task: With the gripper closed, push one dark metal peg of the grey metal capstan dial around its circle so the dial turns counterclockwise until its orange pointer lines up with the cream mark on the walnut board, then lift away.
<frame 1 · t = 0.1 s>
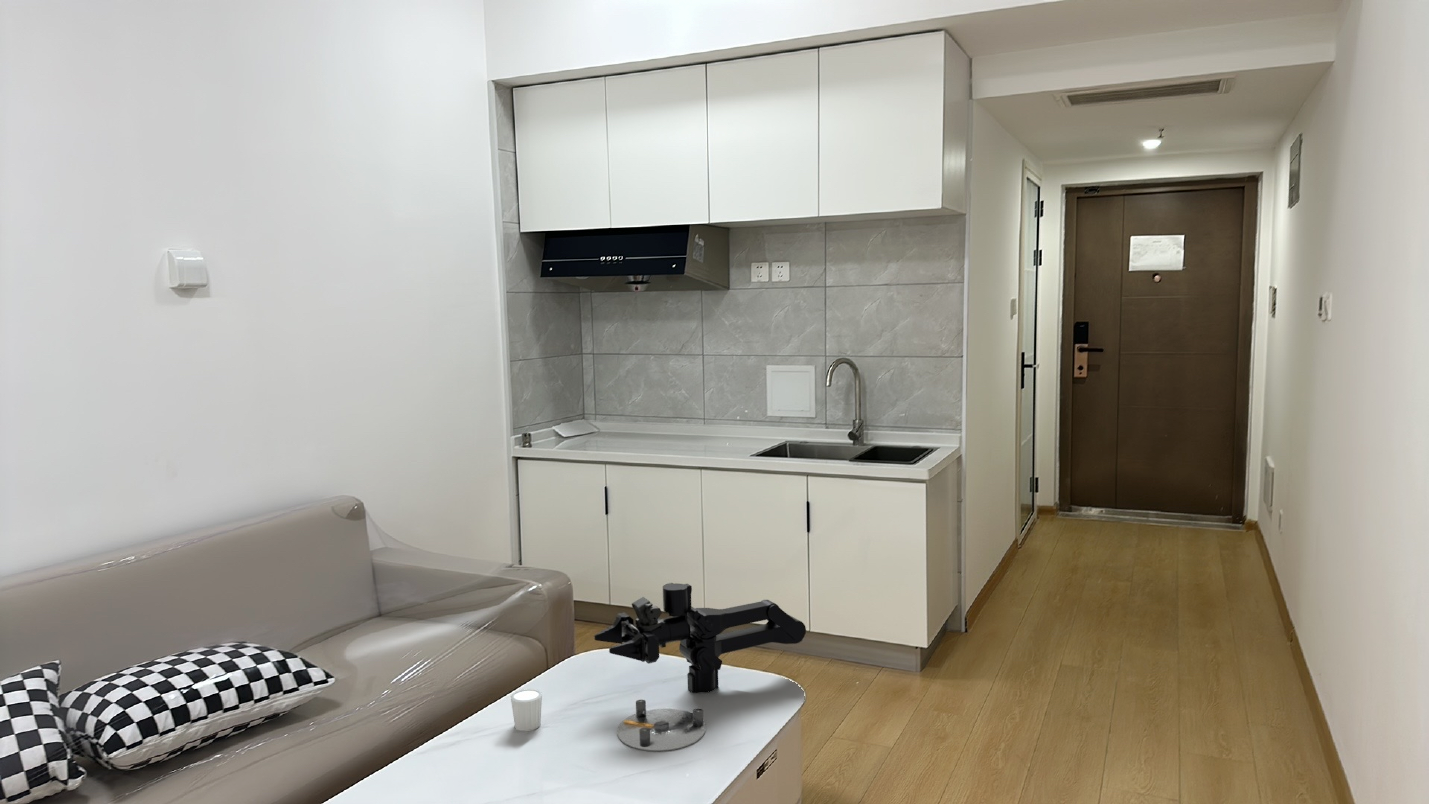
hand: (601, 644, 211), 17 cm above the table, tool horizontal, fingers open, 9 cm apart
stand board: (659, 734, 203), on the table
shot glass: (527, 726, 209), on the table
capstan dial: (661, 722, 203), point 3 cm above the table, hinge at -50.0°
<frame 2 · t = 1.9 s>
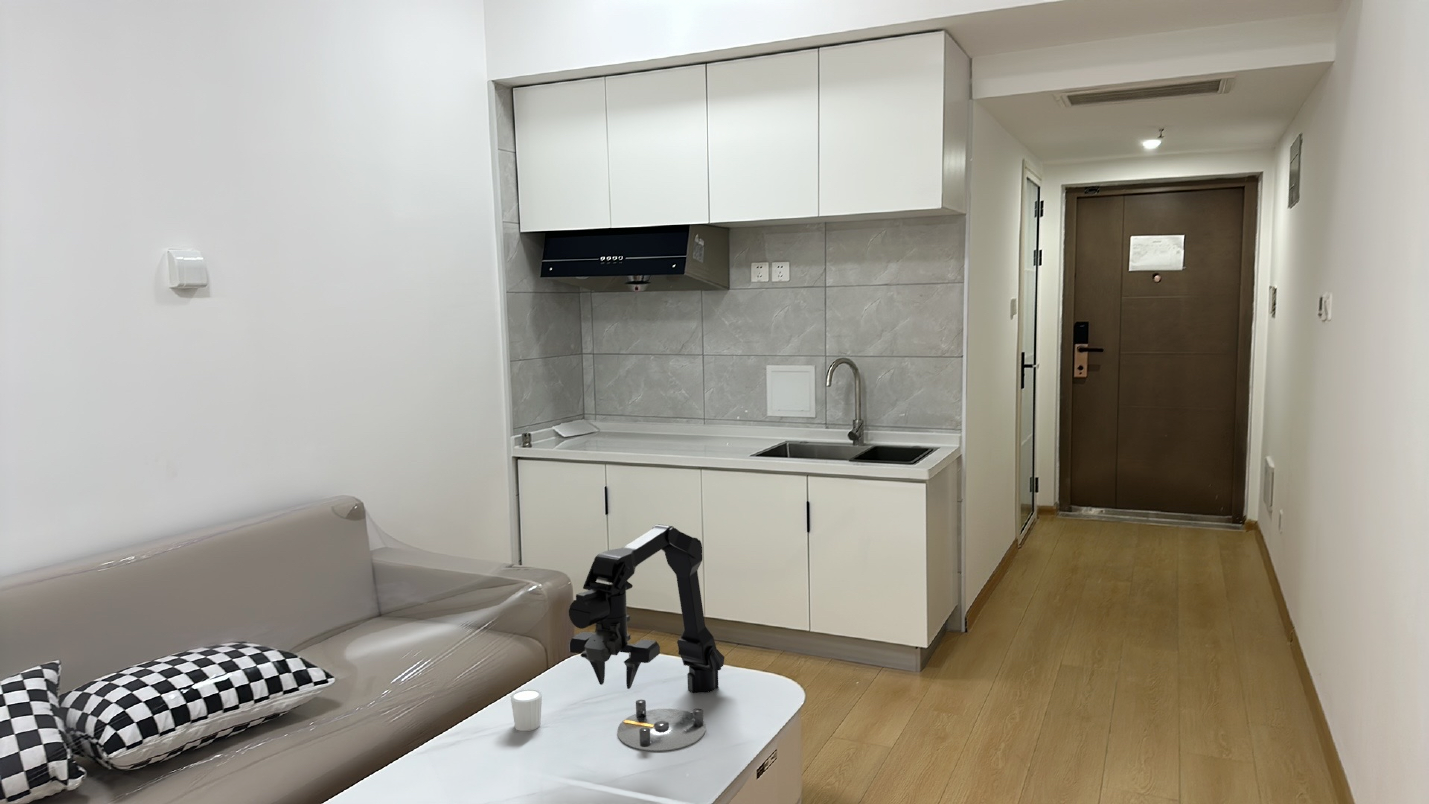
hand: (615, 686, 197), 13 cm above the table, tool pointing down, fingers open, 6 cm apart
nothing on the table moved.
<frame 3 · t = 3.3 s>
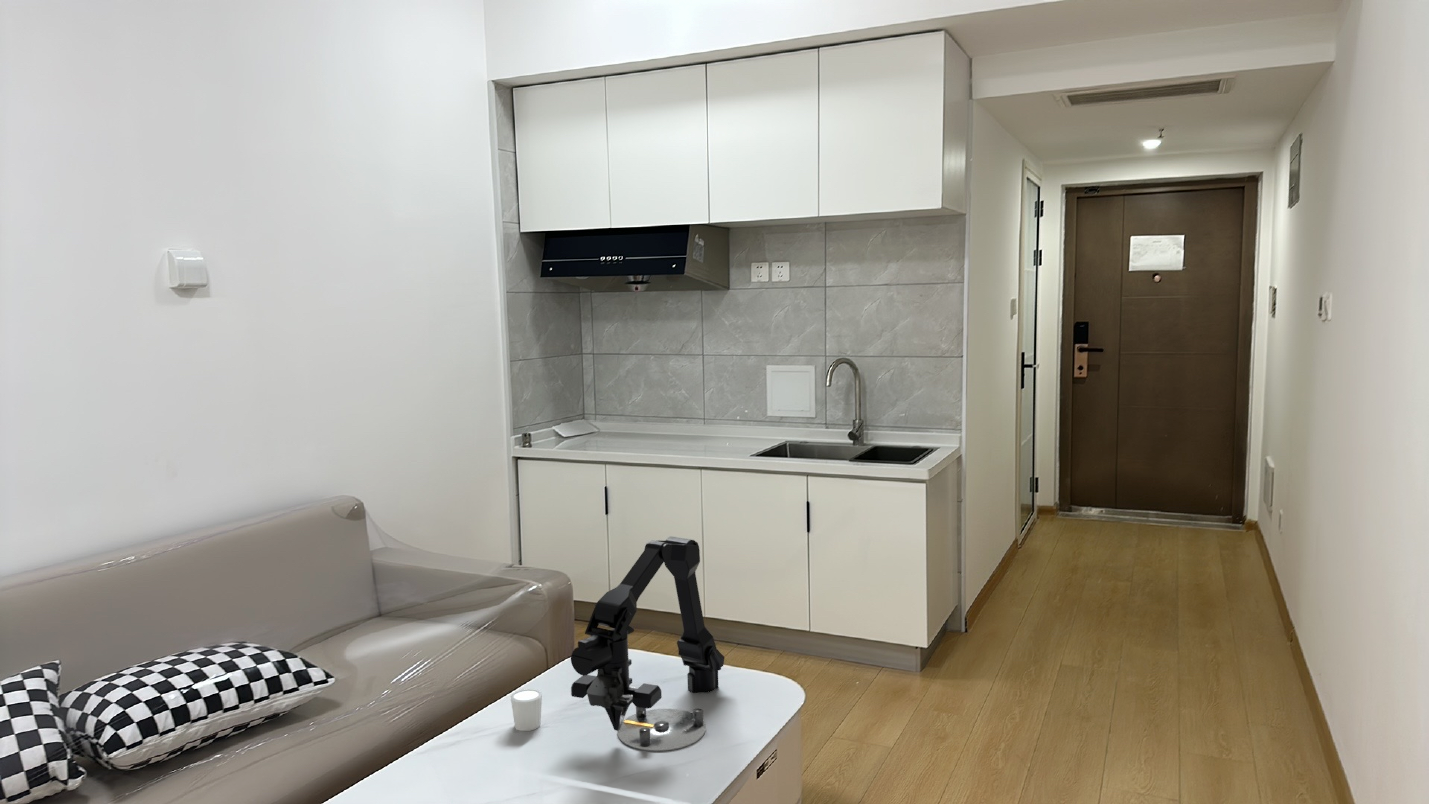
hand: (617, 729, 198), 3 cm above the table, tool pointing down, fingers closed
nothing on the table moved.
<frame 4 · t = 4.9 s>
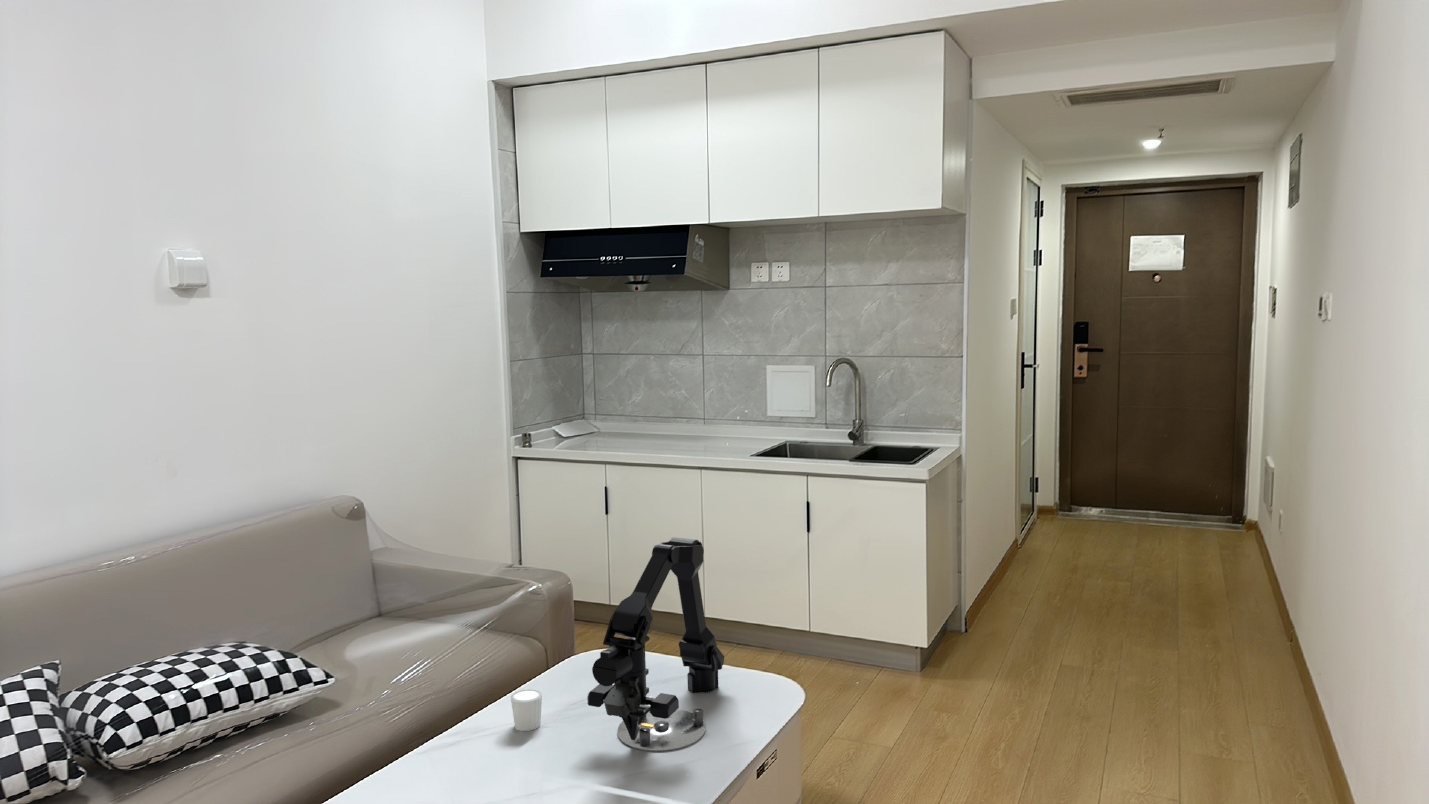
hand: (633, 739, 196), 2 cm above the table, tool pointing down, fingers closed
capstan dial: (661, 722, 203), point 3 cm above the table, hinge at -50.0°, touching gripper
everything else where it was.
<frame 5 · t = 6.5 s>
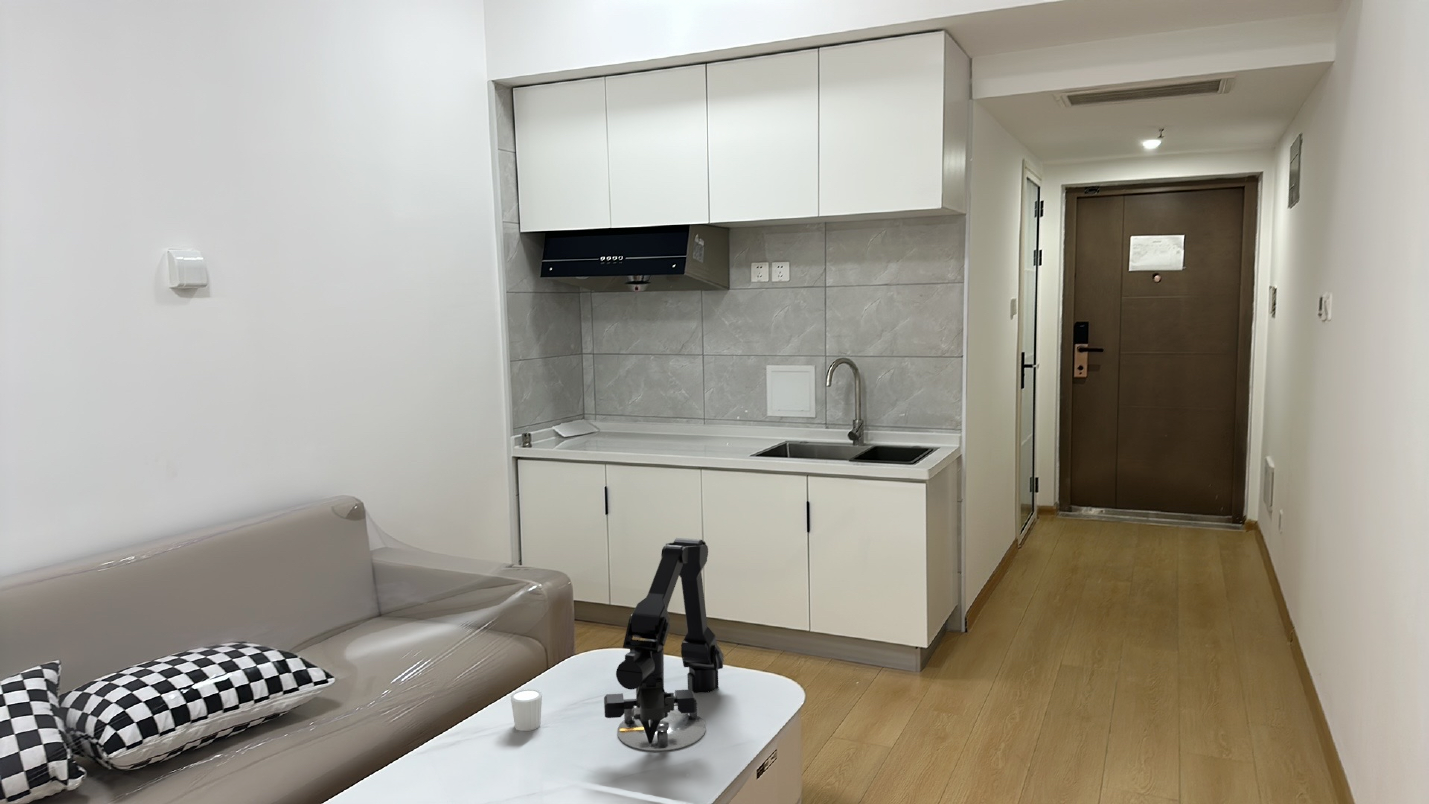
hand: (650, 742, 195), 2 cm above the table, tool pointing down, fingers closed
capstan dial: (661, 722, 203), point 3 cm above the table, hinge at -23.0°, touching gripper
everything else where it was.
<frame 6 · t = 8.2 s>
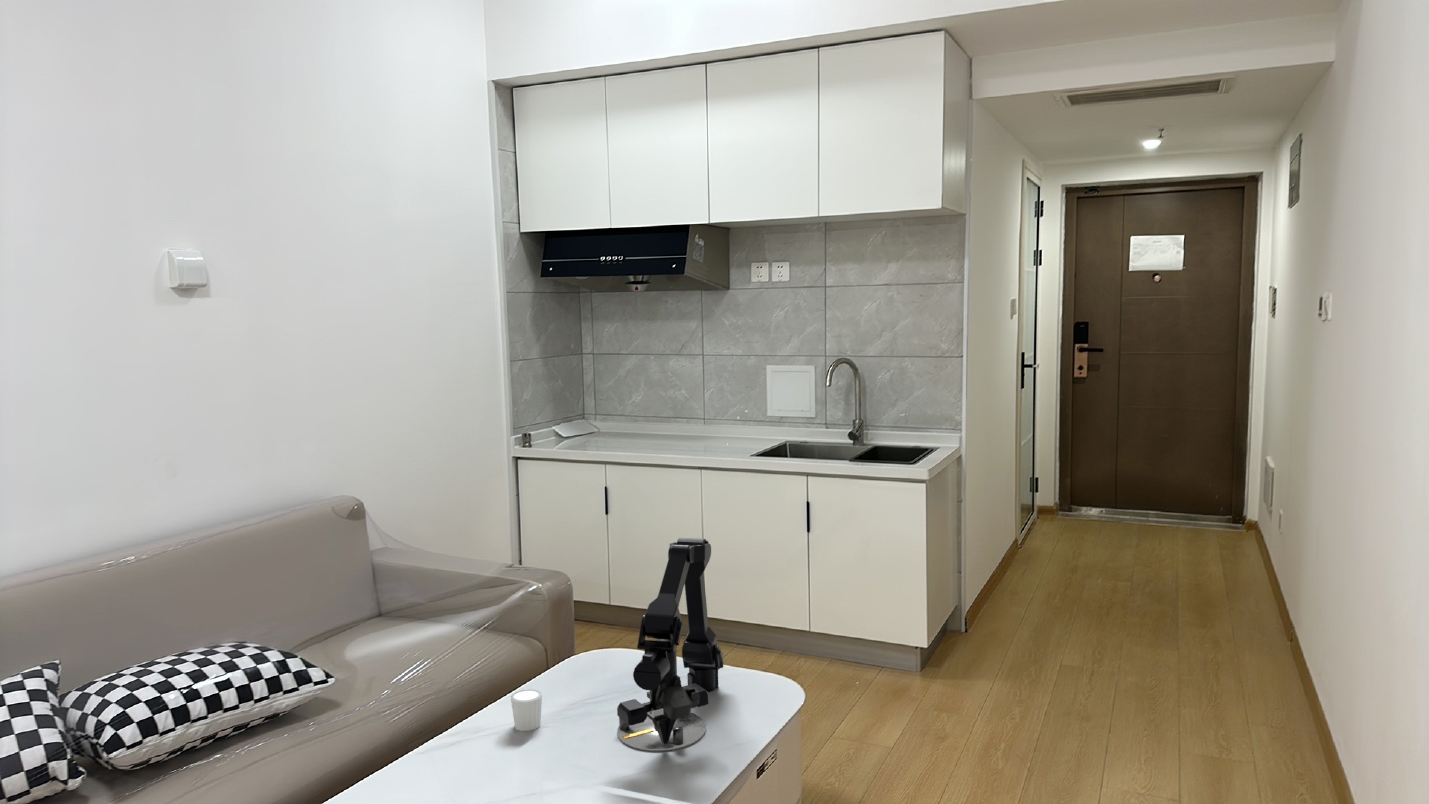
hand: (664, 743, 194), 2 cm above the table, tool pointing down, fingers closed
capstan dial: (661, 722, 203), point 3 cm above the table, hinge at 0.9°
everything else where it was.
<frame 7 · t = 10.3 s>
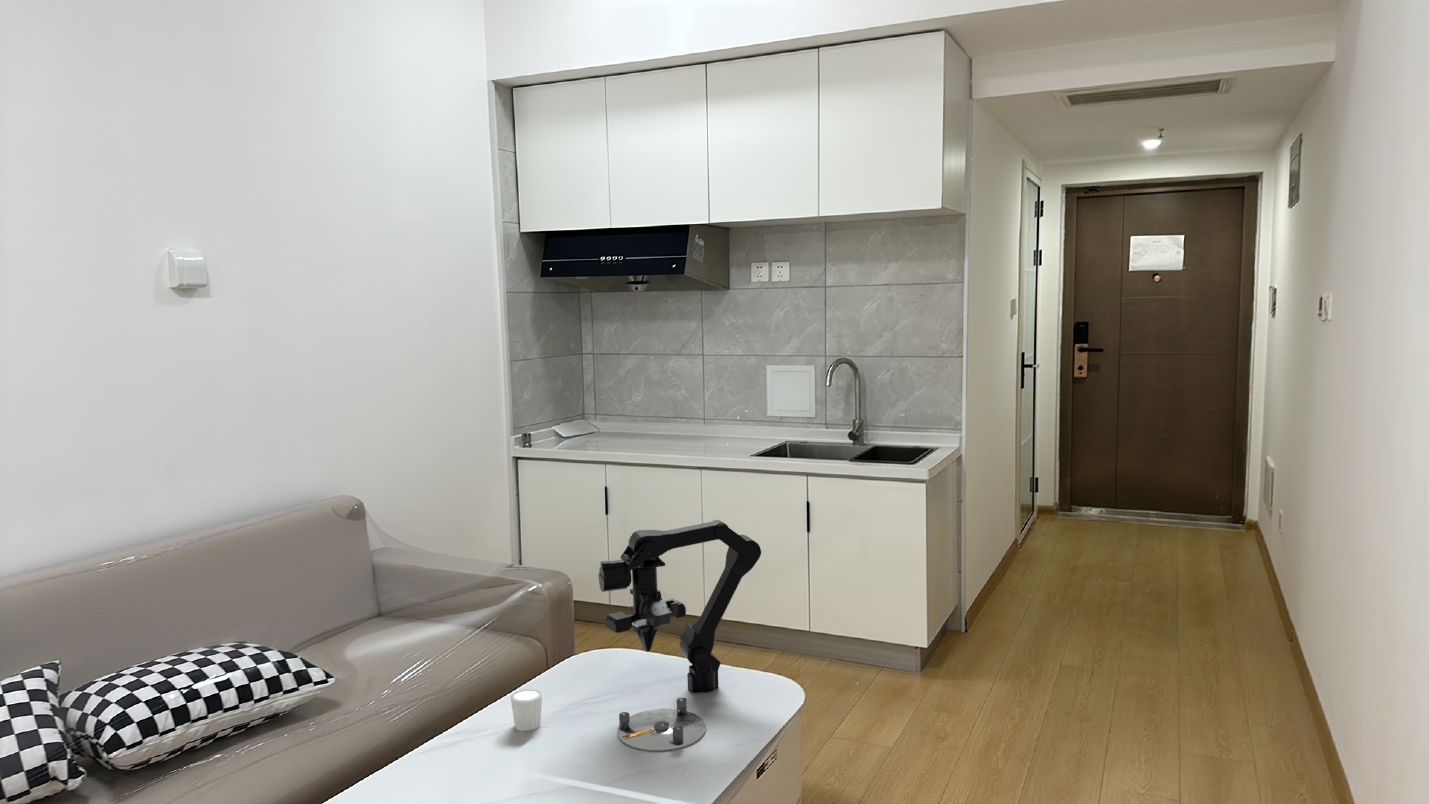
hand: (647, 650, 219), 12 cm above the table, tool pointing down, fingers closed
nothing on the table moved.
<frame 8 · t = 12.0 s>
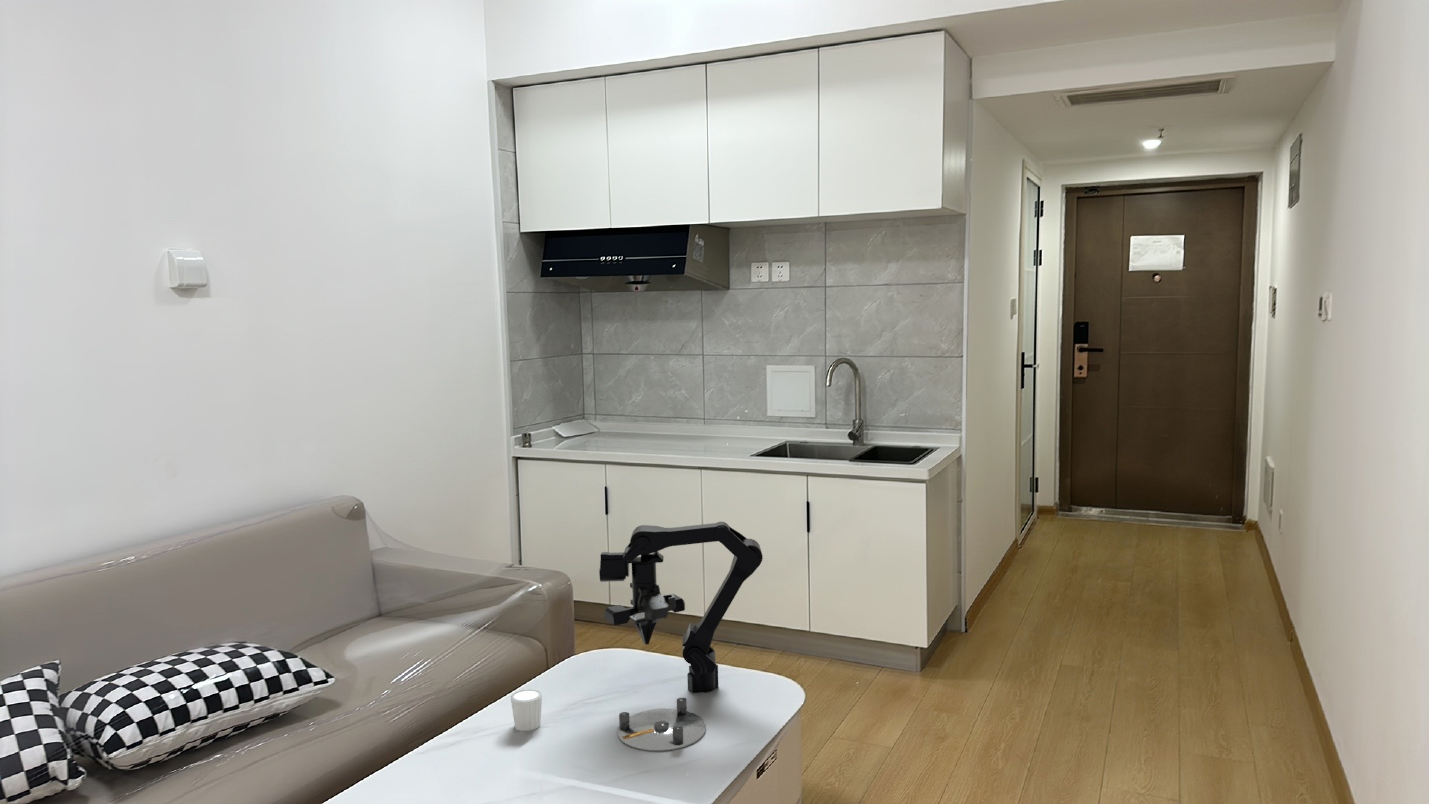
hand: (646, 644, 223), 12 cm above the table, tool pointing down, fingers closed
nothing on the table moved.
at the end: capstan dial at +1° (first picture: -50°) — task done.
